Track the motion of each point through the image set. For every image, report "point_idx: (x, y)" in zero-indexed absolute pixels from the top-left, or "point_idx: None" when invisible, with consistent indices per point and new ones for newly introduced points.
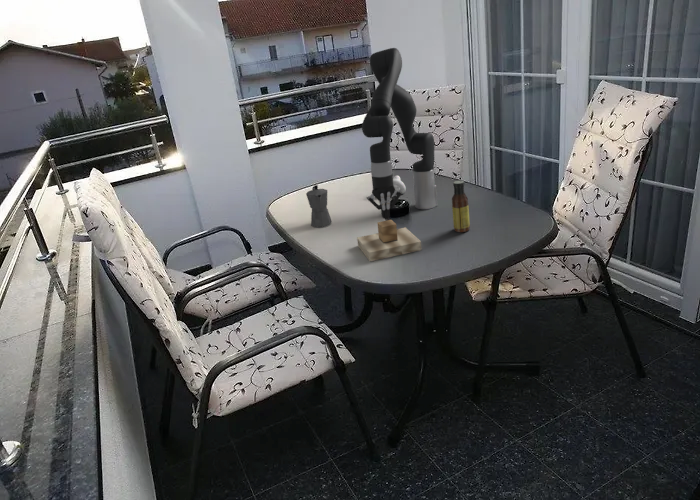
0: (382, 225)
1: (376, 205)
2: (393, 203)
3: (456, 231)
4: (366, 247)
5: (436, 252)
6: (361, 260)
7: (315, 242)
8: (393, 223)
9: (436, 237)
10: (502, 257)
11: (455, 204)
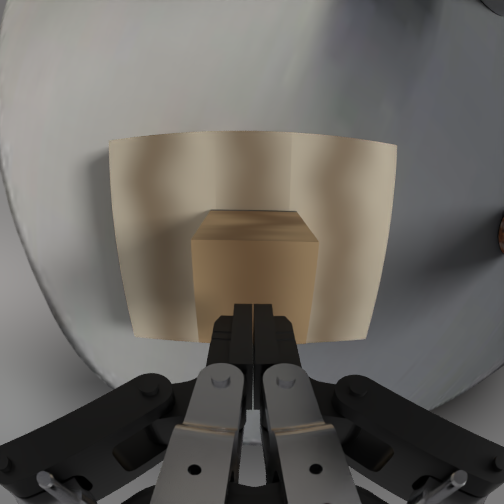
0: (211, 318)
1: (132, 459)
2: (351, 451)
3: (498, 236)
4: (129, 286)
5: (377, 349)
6: (119, 291)
7: (23, 57)
8: (295, 324)
9: (448, 239)
10: (442, 401)
11: None
